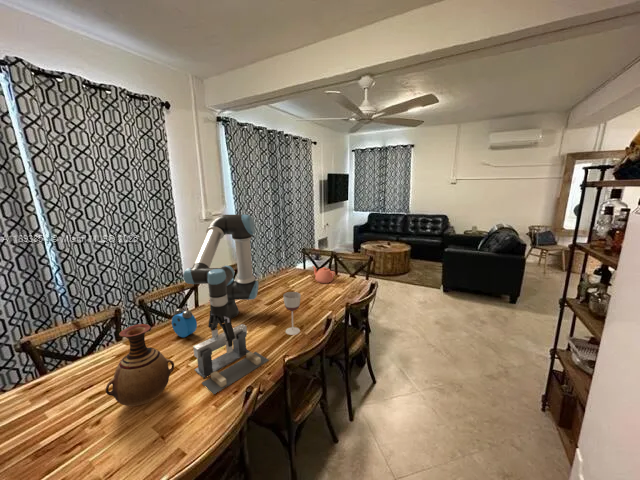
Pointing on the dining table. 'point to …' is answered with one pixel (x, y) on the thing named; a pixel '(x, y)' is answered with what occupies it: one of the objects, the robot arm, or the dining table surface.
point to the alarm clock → (184, 323)
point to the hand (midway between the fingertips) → (222, 346)
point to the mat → (234, 373)
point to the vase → (139, 370)
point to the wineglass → (292, 308)
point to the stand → (221, 357)
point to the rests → (222, 381)
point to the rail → (217, 341)
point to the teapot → (323, 275)
